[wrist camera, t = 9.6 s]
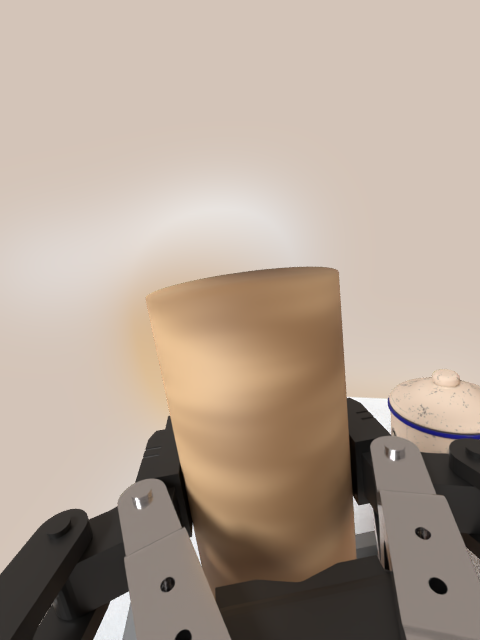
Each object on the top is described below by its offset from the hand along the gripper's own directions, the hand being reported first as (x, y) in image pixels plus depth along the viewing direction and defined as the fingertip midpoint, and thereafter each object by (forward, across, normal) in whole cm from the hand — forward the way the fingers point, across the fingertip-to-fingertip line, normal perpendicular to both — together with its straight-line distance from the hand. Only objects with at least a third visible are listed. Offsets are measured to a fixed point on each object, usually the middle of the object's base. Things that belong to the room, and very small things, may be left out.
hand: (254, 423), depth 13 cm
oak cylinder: (-3, 0, +8) cm, 8 cm away
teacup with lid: (+11, -17, +18) cm, 27 cm away
